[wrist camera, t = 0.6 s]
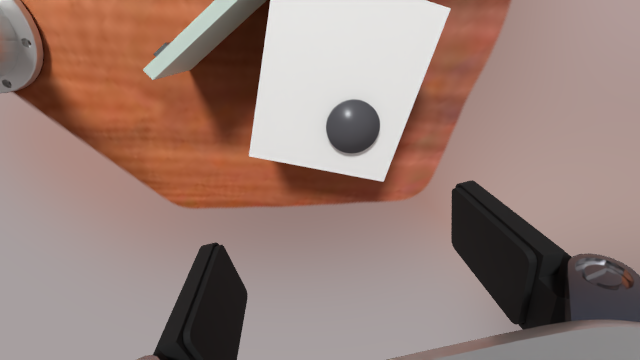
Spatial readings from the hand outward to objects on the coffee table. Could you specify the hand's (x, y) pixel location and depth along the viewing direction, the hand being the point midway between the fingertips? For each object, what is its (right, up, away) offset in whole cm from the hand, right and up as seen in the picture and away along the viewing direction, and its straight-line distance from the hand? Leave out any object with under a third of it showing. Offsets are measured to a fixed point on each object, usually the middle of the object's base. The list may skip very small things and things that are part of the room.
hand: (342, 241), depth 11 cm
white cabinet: (0, +15, +22) cm, 27 cm away
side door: (-11, +19, +18) cm, 29 cm away
